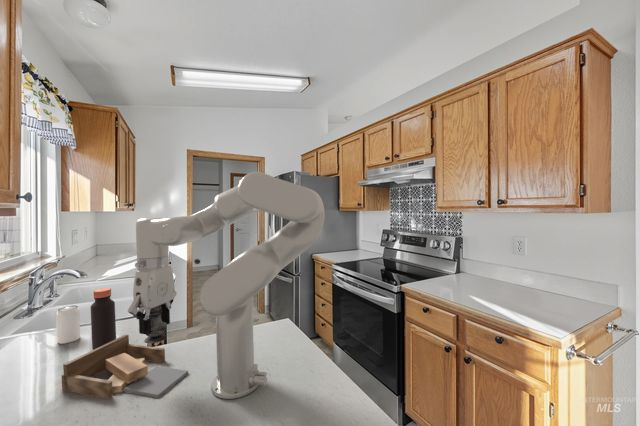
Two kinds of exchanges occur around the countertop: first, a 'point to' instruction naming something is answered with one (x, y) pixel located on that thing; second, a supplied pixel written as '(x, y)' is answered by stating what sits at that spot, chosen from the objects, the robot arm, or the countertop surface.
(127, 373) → the upper offcut
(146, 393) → the mat
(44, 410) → the countertop surface
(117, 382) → the lower offcut
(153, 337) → the grey stone finial
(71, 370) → the rack
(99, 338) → the bottle
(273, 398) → the countertop surface
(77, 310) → the can
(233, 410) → the countertop surface
